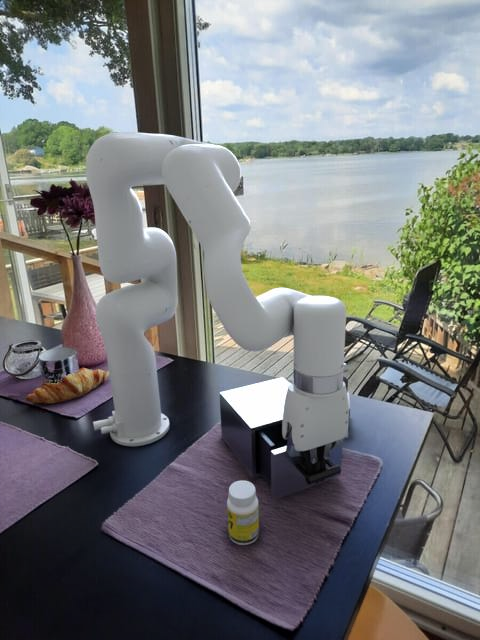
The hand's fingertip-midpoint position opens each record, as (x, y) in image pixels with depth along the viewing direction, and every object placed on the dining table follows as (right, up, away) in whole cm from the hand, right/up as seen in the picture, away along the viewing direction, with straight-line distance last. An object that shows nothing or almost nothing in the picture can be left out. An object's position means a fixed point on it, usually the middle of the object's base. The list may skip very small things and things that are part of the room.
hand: (315, 476), depth 73 cm
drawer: (-3, -1, +6) cm, 7 cm away
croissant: (-55, +7, +40) cm, 68 cm away
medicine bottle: (+7, +3, +21) cm, 23 cm away
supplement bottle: (-12, -7, -6) cm, 15 cm away
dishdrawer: (-7, +1, +15) cm, 17 cm away
